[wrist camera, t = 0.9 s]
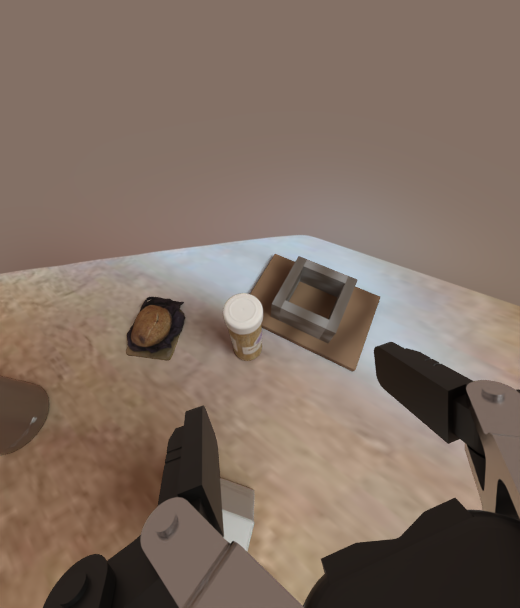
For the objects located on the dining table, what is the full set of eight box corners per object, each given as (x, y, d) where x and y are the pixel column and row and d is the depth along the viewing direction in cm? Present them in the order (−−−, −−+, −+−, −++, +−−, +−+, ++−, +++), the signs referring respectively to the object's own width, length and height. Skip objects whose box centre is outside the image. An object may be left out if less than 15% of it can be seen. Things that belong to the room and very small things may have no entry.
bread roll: (174, 363, 40) (166, 357, 36) (122, 355, 40) (110, 348, 37) (192, 303, 44) (187, 293, 41) (146, 297, 45) (137, 286, 42)
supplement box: (177, 542, 29) (125, 609, 18) (202, 469, 33) (171, 487, 21) (237, 567, 28) (222, 654, 17) (257, 489, 32) (255, 519, 20)
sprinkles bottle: (258, 364, 39) (258, 332, 27) (230, 358, 39) (217, 324, 27) (264, 336, 41) (266, 295, 29) (237, 331, 41) (228, 288, 29)
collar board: (238, 316, 43) (235, 300, 38) (274, 257, 48) (276, 237, 43) (352, 371, 38) (366, 362, 33) (378, 299, 44) (392, 282, 39)
